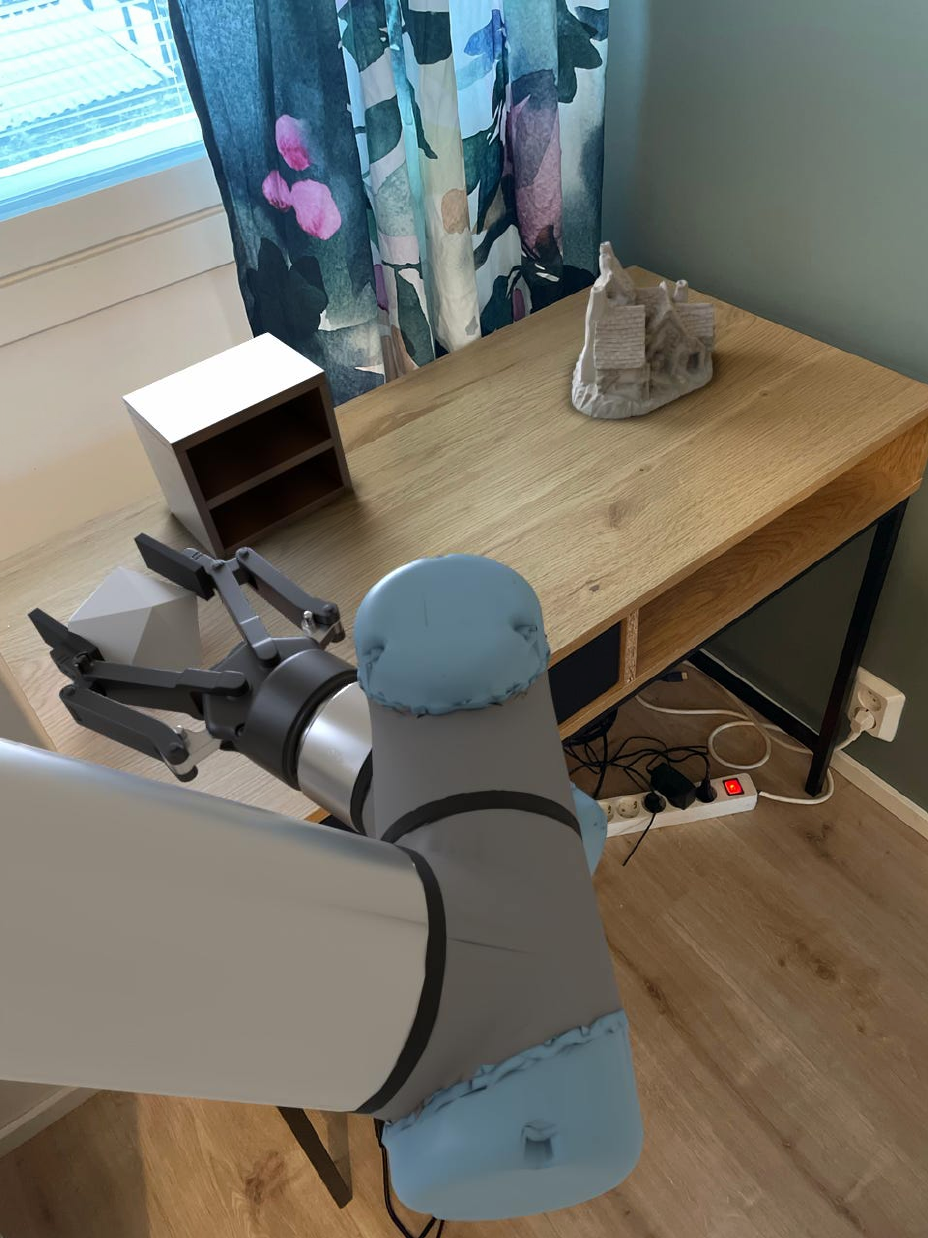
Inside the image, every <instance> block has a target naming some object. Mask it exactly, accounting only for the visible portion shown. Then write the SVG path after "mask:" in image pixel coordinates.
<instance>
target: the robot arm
mask: <svg viewBox="0 0 928 1238" xmlns="http://www.w3.org/2000/svg"><path fill="white" fill-rule="evenodd" d="M133 540H134V542H135V545H136V546H137V549H138V551H139V553H140V555H141V557H142V559H143V561H144V564H145V566H146V568H148V569H150V570H151V571H153V572H155V573H156V574H158V575H160V576H162V577H163V578H165V579H167V580H169V581H170V582H172V583H174V584H176V586H178V587H181V588H184V589H187V590H190V591H193V592H196V593H197V597H199V598H201V600H203V601H205V602H209V601H210V600H211V599H212V598H214V597H215V596H216V595H217V594H216V592H217V593H218V596H219V599H220V601H221V603H222V604H223V605H224V607H225V609H226V611H227V612H228V614H229V617H230V618H231V620H232V621H233V623H234V626H235V627H236V629H237V631H238V633H239V634H240V637H241V638H242V640H241V641H239V642H238V643H237V644H236V645H235V646H234V647H232V649H231V650H230V652H229V653H228V655H226V657H225V658H223V659H222V660H220V661H218V662H217V663H215V664H213V665H212V666H210V668H208V669H200V668H198V669H193V668H186V669H185V670H184V672H177V671H170V670H162V669H155V668H148V667H140V666H133V665H126V664H119V663H111V662H106V661H105V659H104V658H103V656H102V654H101V653H100V651H99V649H98V647H96V646H95V645H93V644H92V643H90V642H89V641H87V640H86V639H84V638H83V637H81V636H80V635H77V634H75V633H72V632H70V631H68V626H66V625H65V624H63V623H62V622H60V621H59V620H57V619H55V618H54V617H53V616H51V615H50V614H48V613H47V612H45V611H44V610H42V609H41V608H39V607H36V608H34V609H33V610H32V611H30V612H29V613H27V616H28V618H29V620H30V621H31V623H32V624H33V626H34V627H35V629H36V630H37V632H38V634H39V635H40V637H41V639H42V640H43V641H44V643H45V644H46V645H48V646H49V647H50V648H52V649H51V650H50V651H49V655H50V658H51V659H52V661H53V663H54V664H55V666H56V667H57V669H58V671H59V672H60V673H62V674H63V676H65V677H66V678H68V679H70V680H71V681H72V680H73V681H74V683H73V684H72V683H69V684H66V685H65V686H63V687H62V688H61V689H60V691H59V692H58V698H59V699H60V701H61V702H62V704H63V705H64V707H65V708H66V710H67V711H68V712H69V714H70V715H71V717H72V719H73V720H74V722H75V723H76V724H77V725H79V726H81V727H83V728H85V729H88V730H90V731H92V732H95V733H97V734H99V735H101V736H103V737H105V738H108V739H110V740H113V741H115V742H116V743H119V744H121V745H124V746H125V747H127V748H130V749H133V750H134V751H137V752H139V753H141V754H144V755H145V756H148V757H150V758H152V759H155V760H156V761H159V762H162V763H164V765H165V766H166V767H167V769H169V771H170V772H171V773H172V774H173V776H175V778H176V779H177V780H178V781H179V782H180V783H184V784H185V783H190V782H192V781H194V780H195V779H196V778H197V776H198V775H199V768H198V766H197V765H198V764H199V763H201V762H203V760H205V759H206V758H208V757H209V756H211V755H213V753H216V752H217V751H218V750H220V751H223V752H231V753H232V752H233V753H237V754H241V755H243V756H244V757H246V758H247V759H248V760H250V761H251V762H252V763H254V764H255V765H256V766H259V767H260V768H261V769H263V770H264V771H265V772H267V773H269V774H270V775H272V776H273V777H274V778H276V779H278V780H279V781H281V782H282V783H284V785H286V786H288V787H289V788H291V789H292V790H294V791H297V792H301V793H302V796H305V797H306V798H307V799H308V800H310V801H311V802H313V803H314V804H316V805H317V806H318V807H320V808H322V810H325V812H327V813H329V814H330V815H332V816H333V817H335V818H336V819H337V820H339V821H340V822H341V823H343V824H345V825H346V826H348V827H349V828H351V829H352V830H354V831H355V832H356V833H354V832H351V831H348V830H347V831H346V830H343V829H340V828H335V827H331V826H328V825H324V824H322V823H321V824H320V823H317V822H314V821H310V820H306V819H303V818H299V817H295V816H291V815H289V814H284V813H282V812H281V813H280V812H277V811H273V810H269V809H266V808H262V807H259V806H254V805H251V804H248V803H243V802H239V801H236V800H233V799H229V798H225V797H221V796H217V795H214V794H211V793H206V792H203V791H199V790H195V789H192V788H188V787H184V786H180V785H176V784H173V783H169V782H166V781H162V780H159V779H155V778H152V777H148V776H144V775H140V774H137V773H133V772H129V771H125V770H122V769H118V768H114V767H110V766H106V765H103V764H100V763H97V762H92V761H88V760H85V759H81V758H77V757H74V756H70V755H67V754H63V753H59V752H56V751H51V750H48V749H44V748H42V747H41V748H40V747H37V746H33V745H29V744H26V743H23V742H18V741H15V740H11V739H8V738H4V737H0V1081H1V1080H2V1081H10V1082H11V1081H12V1082H22V1083H31V1084H32V1083H33V1084H43V1085H53V1086H64V1087H73V1088H85V1089H95V1090H106V1091H108V1090H109V1091H116V1092H126V1093H127V1092H128V1093H136V1094H137V1093H138V1094H146V1095H147V1094H149V1095H158V1096H170V1097H180V1098H191V1099H201V1100H211V1101H223V1102H232V1103H244V1104H245V1103H246V1104H253V1105H263V1106H264V1105H265V1106H275V1107H285V1108H296V1109H306V1110H308V1109H309V1110H317V1111H328V1112H338V1113H348V1114H356V1115H362V1116H366V1117H369V1118H373V1119H376V1120H381V1121H384V1124H383V1128H382V1136H381V1144H382V1145H383V1146H384V1147H385V1150H387V1153H388V1161H389V1169H390V1170H389V1172H390V1182H391V1186H392V1189H393V1191H394V1193H395V1195H396V1197H397V1199H398V1200H399V1202H400V1203H401V1204H403V1205H404V1206H405V1207H406V1208H407V1209H409V1210H412V1211H415V1212H417V1213H419V1214H422V1215H431V1216H432V1217H434V1218H435V1219H436V1220H444V1221H450V1222H451V1221H454V1222H455V1221H456V1222H479V1221H483V1222H485V1221H497V1220H506V1219H513V1218H521V1217H529V1216H533V1215H534V1216H535V1215H538V1214H543V1213H548V1212H553V1211H557V1210H562V1209H565V1208H570V1207H572V1206H575V1205H578V1204H581V1203H585V1202H587V1201H589V1200H591V1199H594V1198H596V1197H600V1196H601V1195H603V1194H605V1193H607V1192H609V1191H610V1190H612V1189H614V1188H616V1187H617V1186H619V1185H620V1184H621V1183H622V1182H624V1181H625V1180H626V1179H627V1178H628V1176H629V1175H631V1173H632V1172H633V1170H635V1167H636V1166H637V1164H638V1163H639V1159H640V1157H641V1156H642V1155H641V1154H642V1152H643V1146H644V1135H645V1133H644V1123H643V1118H642V1112H641V1106H640V1099H639V1093H638V1086H637V1080H636V1073H635V1066H634V1060H633V1059H634V1058H633V1053H632V1047H631V1040H630V1033H629V1028H630V1021H629V1018H628V1015H627V1012H626V1009H624V1007H623V1004H622V999H621V995H620V991H619V987H618V983H617V978H616V975H615V970H614V966H613V963H612V958H611V954H610V949H609V945H608V941H607V937H606V934H605V933H606V931H605V929H604V925H603V920H602V917H601V912H600V908H599V903H598V899H597V896H596V892H595V887H594V883H593V879H592V878H593V876H594V874H595V872H596V869H597V868H598V866H599V863H600V860H601V859H602V855H603V853H604V849H605V845H606V842H607V837H608V832H609V831H608V829H609V827H608V824H609V823H608V817H607V813H606V811H605V809H604V808H603V807H601V805H600V803H599V802H598V801H597V800H595V799H594V798H593V797H591V796H590V795H588V794H586V793H585V792H584V791H583V790H581V789H580V788H578V787H577V786H576V784H575V783H574V782H572V781H571V779H570V775H569V771H568V765H567V761H566V756H565V751H564V749H563V743H562V739H561V734H560V730H559V725H558V720H557V717H556V712H555V709H554V703H553V699H552V693H551V692H552V691H551V686H550V679H549V671H548V666H549V663H550V662H551V659H552V650H551V646H550V645H549V644H550V643H549V642H548V641H547V638H548V635H547V634H546V631H545V624H544V616H543V608H542V604H541V602H540V599H539V597H538V594H537V593H536V591H535V590H534V588H533V586H532V585H531V584H530V583H529V582H528V581H527V580H526V579H525V578H524V576H523V575H521V573H520V572H517V571H516V570H515V569H513V568H512V567H511V566H508V565H506V564H504V563H502V562H500V561H497V560H495V559H492V558H490V557H486V556H482V555H477V554H472V553H450V554H448V555H446V556H445V555H437V556H434V557H423V558H418V559H415V560H412V561H411V562H407V563H406V564H403V565H402V566H399V567H397V568H395V569H393V570H392V571H391V572H389V573H388V574H386V575H385V576H384V577H382V578H381V579H380V580H379V581H378V582H377V583H376V584H374V585H373V586H372V587H371V588H370V589H369V591H368V592H367V593H366V595H365V596H364V597H363V599H362V601H361V603H360V604H359V607H358V609H357V610H356V614H355V616H354V617H355V618H354V621H353V626H352V627H353V630H352V637H353V645H354V649H355V655H356V659H357V663H356V666H355V665H353V664H351V663H349V662H348V661H346V660H345V659H343V658H340V657H338V656H337V655H335V654H333V653H332V652H330V651H327V650H326V649H327V648H328V647H329V645H330V644H338V643H341V642H342V641H344V640H345V639H346V636H347V634H346V630H345V626H344V623H343V619H342V616H341V612H340V607H339V606H338V604H336V603H334V602H333V601H332V602H331V601H328V600H325V599H322V598H319V597H316V596H312V595H311V594H310V593H308V592H307V591H306V590H304V589H303V588H302V587H301V586H300V585H298V584H297V583H295V582H294V581H293V580H292V579H291V578H289V577H288V576H286V575H285V574H284V573H282V572H281V571H280V570H279V569H278V568H276V567H275V566H274V565H272V563H270V562H269V561H268V560H266V559H265V558H263V557H262V556H261V555H260V554H258V553H257V552H256V551H255V550H253V548H251V547H245V548H241V549H239V550H238V551H236V553H235V554H234V557H233V558H231V559H229V560H226V561H225V559H224V560H216V559H215V558H212V557H211V556H208V555H207V554H205V553H203V552H202V551H199V550H197V549H195V548H190V547H187V548H185V549H183V550H182V551H181V552H180V551H178V550H176V549H174V548H172V547H170V546H169V545H167V544H165V543H163V542H161V541H159V540H157V539H156V538H154V537H151V536H150V535H147V534H146V533H145V532H141V533H139V534H138V535H136V536H135V537H133ZM244 585H247V586H248V587H249V589H251V590H252V591H253V592H255V593H256V594H257V595H258V596H259V597H261V598H262V599H263V600H264V601H266V602H267V603H268V604H269V605H270V606H271V607H273V608H274V609H275V610H276V611H278V612H279V613H280V614H281V615H282V616H284V617H285V619H287V620H288V621H290V622H291V624H293V625H294V626H295V627H296V628H298V629H299V630H301V632H303V634H304V635H301V636H300V635H298V636H284V637H283V636H282V637H281V636H279V637H271V636H270V634H269V632H268V630H267V629H266V626H265V625H264V623H263V622H262V620H261V617H260V616H259V615H257V614H256V612H255V609H254V608H253V606H252V605H251V603H250V601H249V600H248V597H247V596H246V595H245V593H244V591H243V589H242V587H241V586H244ZM215 591H216V592H215ZM129 705H132V706H139V707H145V708H152V709H156V710H159V711H166V712H172V713H178V714H179V713H180V714H185V715H188V716H190V717H191V718H192V719H194V720H197V721H201V722H204V726H205V727H204V728H205V729H204V730H201V731H192V730H190V729H188V728H184V726H182V725H176V726H175V727H173V728H172V727H171V726H170V725H168V724H167V723H166V722H164V721H163V720H160V719H159V718H156V717H154V716H152V715H150V714H147V713H144V712H143V711H140V710H137V709H135V708H134V707H132V706H129ZM357 833H359V834H357Z"/></svg>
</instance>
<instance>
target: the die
mask: <svg viewBox="0 0 928 1238" xmlns="http://www.w3.org/2000/svg"><path fill="white" fill-rule="evenodd" d="M200 627H201V626H200V616H199V605H198V596H197V593H196V592H193V591H190V590H187V589H185V588H183V587H181V586H179V585H175V584H172V583H169V582H166V581H163V580H160V579H158V578H154V577H151V576H149V575H146V574H142V573H140V572H137V571H134V570H131V569H127V568H125V567H122V566H119V565H117V566H116V567H115V568H114V569H113V571H111V573H110V574H109V575H107V577H106V578H105V579H104V580H103V581H102V582H101V583H100V584H99V585H98V587H97V588H95V590H94V591H92V593H91V594H90V595H89V596H88V597H87V598H86V600H84V601H83V603H82V604H81V605H80V606H79V607H78V608H77V609H76V610H75V611H74V612H73V614H72V615H71V616H70V617H69V619H68V621H67V628H68V631H70V632H72V633H75V634H77V635H80V636H81V637H83V638H84V639H86V640H87V641H89V642H90V643H92V644H93V645H95V646H96V647H98V649H99V651H100V653H101V654H102V656H103V658H104V659H105V661H106V662H111V663H119V664H126V665H133V666H140V667H148V668H155V669H162V670H170V671H177V672H184V670H185V669H186V668H193V669H200V668H201V666H203V665H204V662H203V653H202V652H203V651H202V640H201V628H200ZM73 683H74V681H73V680H71V684H73ZM128 707H131V708H136V709H139V710H142V711H143V710H144V711H147V712H150V713H155V711H156V710H157V709H152V708H145V707H139V706H132V705H128Z"/></svg>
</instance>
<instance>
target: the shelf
mask: <svg viewBox="0 0 928 1238" xmlns="http://www.w3.org/2000/svg"><path fill="white" fill-rule="evenodd" d="M121 399H122V401H123V403H124V405H125V408H126V410H127V413H128V415H129V418H130V420H131V421H132V424H133V427H134V428H135V431H136V433H137V435H138V438H139V440H140V443H141V445H142V447H143V449H144V452H145V454H146V456H147V459H148V461H149V463H150V465H151V469H152V470H153V472H154V475H155V477H156V480H157V482H158V484H159V487H160V488H161V491H162V493H163V496H164V498H165V500H166V502H167V505H168V507H169V510H170V512H171V513H172V515H174V517H176V519H177V520H178V521H179V522H180V523H181V524H182V525H183V526H184V527H185V528H186V529H187V531H189V532H190V533H191V534H192V535H193V537H194V538H195V539H196V540H197V541H198V542H199V543H200V544H201V545H202V546H203V547H204V548H205V549H206V550H207V551H208V553H210V555H211V556H212V557H213V559H214V560H224V561H225V560H226V559H227V558H229V557H231V556H233V555H235V553H236V551H238V550H239V549H241V548H245V547H246V548H249V547H250V546H252V545H254V544H255V543H256V542H259V541H261V540H262V539H264V538H266V537H268V536H270V535H272V534H273V533H275V532H277V531H279V530H281V529H283V528H285V527H287V526H288V525H290V524H293V522H296V521H298V520H299V519H302V518H303V517H305V516H307V515H308V514H310V513H313V512H314V511H316V510H318V509H320V508H321V507H324V506H326V505H327V504H329V503H331V502H333V501H334V500H337V499H338V498H341V497H342V496H344V495H346V494H348V493H350V492H352V491H353V490H354V487H353V483H352V478H351V473H350V469H349V466H348V461H347V457H346V453H345V449H344V445H343V440H342V437H341V433H340V428H339V424H338V420H337V417H336V412H335V408H334V404H333V399H332V394H331V392H330V387H329V383H328V379H327V375H326V371H325V370H324V369H323V368H321V367H320V366H319V365H317V364H315V363H314V362H312V361H311V360H310V359H308V358H307V357H305V356H304V355H302V354H300V353H299V352H298V351H296V350H294V349H293V348H291V347H290V346H289V345H287V344H285V342H283V341H281V340H280V339H278V338H277V337H275V336H274V335H272V334H271V333H270V332H266V333H263V334H260V335H259V336H256V337H255V338H252V339H250V340H248V341H246V342H245V341H244V342H243V343H241V344H239V345H237V346H233V347H232V348H229V349H227V350H226V351H222V352H220V353H218V354H216V355H214V356H210V358H207V359H205V360H203V361H200V362H197V363H196V364H194V365H191V366H189V367H187V368H185V369H183V370H180V371H178V372H175V373H173V374H171V375H169V376H166V377H164V378H162V379H159V380H158V381H154V382H153V383H151V384H149V385H146V386H144V387H141V388H139V389H137V390H135V391H133V392H130V393H127V394H126V395H124V396H122V397H121Z"/></svg>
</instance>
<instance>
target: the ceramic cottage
mask: <svg viewBox="0 0 928 1238" xmlns="http://www.w3.org/2000/svg"><path fill="white" fill-rule="evenodd" d="M599 253H600V255H599V257H598V259H599V260H598V261H599V270H600V275H599V277H598V278H597V279H596V280H595V281H594V284H593V286H592V287H591V289H590V293H589V300H588V303H587V309H586V313H585V334H584V337H585V339H584V346H583V348H582V351H581V353H580V354H579V356H578V361H576V365H575V369H574V370H573V372H572V375H573V380H572V381H571V382H572V389H571V396H572V398H571V400H572V405H573V406H574V407H575V409H576V410H577V411H578V412H580V413H581V414H583V415H586V416H588V417H592V418H595V419H604V420H605V419H606V420H608V419H609V420H612V419H613V420H618V419H625V418H631V417H632V416H633V417H635V416H636V417H637V416H643V415H646V414H649V413H650V412H652V411H655V410H657V409H658V408H660V407H662V406H664V405H667V404H669V403H671V402H672V401H674V400H677V399H678V398H679V397H681V396H685V395H686V394H689V393H692V392H693V391H695V390H697V389H700V388H703V387H704V386H705V385H706V384H707V383H708V382H711V380H712V377H713V374H714V372H713V371H714V370H713V367H714V366H713V359H712V354H713V352H714V350H713V348H714V347H715V346H716V342H715V340H716V336H717V333H716V332H715V329H716V326H714V323H715V313H714V302H697V303H696V302H695V303H693V302H692V303H691V302H689V283H688V281H687V280H685V279H680V280H677V281H676V283H675V289H674V288H672V286H671V285H670V284H668V282H666V281H665V280H663V281H662V282H660V284H659V286H646V287H637V286H636V285H635V283H634V280H633V279H632V277H631V276H630V274H629V273H628V272H627V271H626V270H625V269H624V268H623V267H622V265H621V263H620V260H619V259H618V258H617V257H616V256H615V253H614V251H613V247H612V245H611V242H610V241H604V242H602V243H600V246H599Z"/></svg>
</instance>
